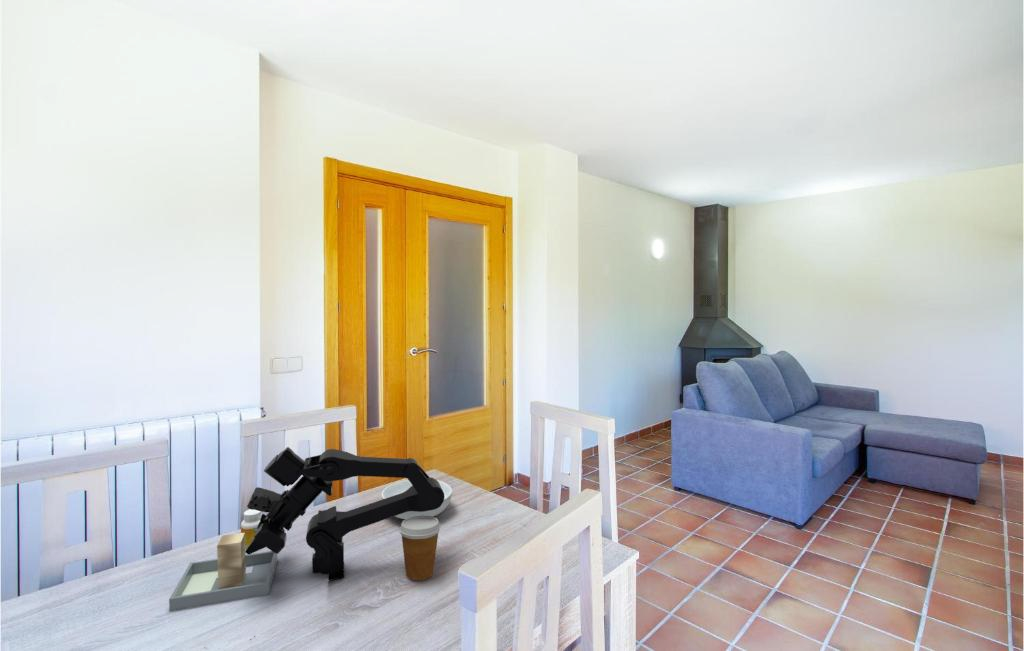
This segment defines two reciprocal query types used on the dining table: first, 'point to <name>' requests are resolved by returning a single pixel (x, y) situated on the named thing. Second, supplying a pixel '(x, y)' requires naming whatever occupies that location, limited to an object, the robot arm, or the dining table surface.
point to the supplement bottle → (250, 525)
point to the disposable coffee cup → (419, 545)
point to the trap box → (203, 582)
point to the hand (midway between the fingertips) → (247, 552)
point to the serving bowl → (405, 485)
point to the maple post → (231, 561)
